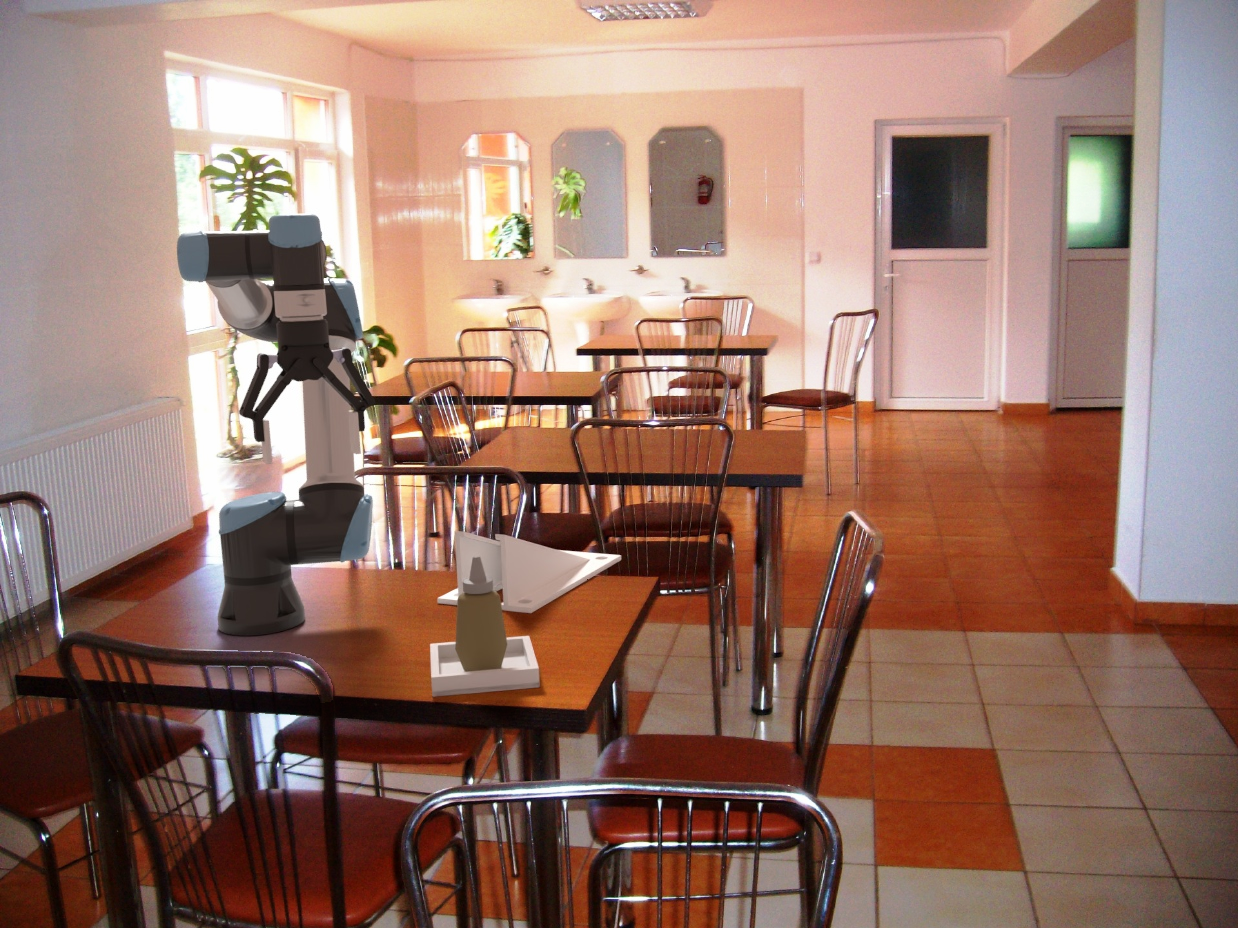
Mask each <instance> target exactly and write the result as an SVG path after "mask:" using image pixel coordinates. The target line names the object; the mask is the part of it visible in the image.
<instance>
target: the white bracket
mask: <svg viewBox="0 0 1238 928" xmlns="http://www.w3.org/2000/svg"><path fill="white" fill-rule="evenodd" d="M494 536H495V539H491V538H488V537H486V536H485V537H484V536H481V535H477V534H474V533H470V532H466V531H458V530H455V531H454V542H455V543H454V544H455V559H456V562H455V563H456V577H457V579H456V580H457V588H455V589H453V590H451V591H449V592H447V593H445V594H443V595H441V596H439V597H437V598H436V599H437V604H442V605H443V604H444V605H450V606H452V605H453V606H457V600H458V597H459V596H460V595H461V594H462V593H464V591H463V580H465V579H467V578H469V577H470V571H471V565H472V559H473V557H475V556H480V558H481V561H482V565H483V568H484V572H485V576H486V577H490V578H492V579H493V591H495V592H499V591H500V590H502V600H503V601H502V602H501V607H502V611H506V612H507V611H508V612H514V613H515V612H516V613H524V614H527V613H528V614H532V613H534V612H535V611H537V610H538V609H540V608H542V607H544V606H546V605H547V604H549V603H551V602H553V601H554V600H555V599H558V598H559V597H561V596H562V595H564V594H566V593H567V592H570V591H571V590H572V589H574V588H576V587H579V585H581V584H583V583H585V582H587V581H588V580H590V579H591V578H593V577H594V576H597V575H598V574H600V573H601V572H603V571H605V570H607V569H608V568H610V567H612V566H613V565H615V564H617V563H618V562H620V561H622V555H620V554H609V553H599V552H587V551H586V552H585V551H576V550H575V551H572V550H561V549H555V548H551V547H548V546H544V545H541V544H538V543H534V542H530V541H528V540H527V541H526V540H524V539H520V538H517V537H514V536H510V535H507V534H502V533H501V534H498V533H495V534H494ZM587 579H588V580H587Z"/></svg>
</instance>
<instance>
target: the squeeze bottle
mask: <svg viewBox="0 0 1238 928" xmlns="http://www.w3.org/2000/svg"><path fill="white" fill-rule="evenodd" d="M463 591H464V593H462V594H461V595H460V596H459V597H458V600H457V605H456V625H455V627H456V628H455V642H456V645H455V650H456V652H457V655H458V657H459V660H460V662H461V664H462V667H463V669H464V671H465V672H469V671H481V670H493V669H501V666H502V662H503V659H504V655H505V651H506V648H507V639H506V638H507V632H506V626H505V622H504V621H505V619H504V614H503V610H502V607H501V603H502V601H501V594H499V593H498V591H496V592H495V591H493V579H492V578H490V577H486V576H485V572H484V568H483V565H482V561H481V558H480V556H475V557H473V559H472V565H471V571H470V577H469V578H467V579H465V580H463Z"/></svg>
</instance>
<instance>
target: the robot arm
mask: <svg viewBox="0 0 1238 928" xmlns="http://www.w3.org/2000/svg"><path fill="white" fill-rule="evenodd" d="M327 256H328V255H327V247H326V243H325V241H324V240H323V233H322V230H321V221H320V218H319V216H317V215H316V214H312V213H311V214H310V213H293V214H291V213H289V214H288V213H287V214H286V213H284V214H275V215H271V217H270V218H269V220H268V229H265V230H263V229H262V230H226V231H223V230H222V231H221V230H220V231H215V230H214V231H213V230H212V231H204V230H200V231H192V232H184V233H182V234H180V235H179V236H178V238H177V241H176V258H177V259H176V260H177V266H178V271H179V274H180V276H181V278H182V279H183V280H184V281H186V282H197V283H204V282H205V283H206V284H207V286H208V288H209V289H210V291H211V292H212V293H213V295H214V297H215V298H216V300H217V309H218V312H219V314H220V316H221V317H222V319H223V320H224V321H225V322H226V324H227V325H228V326H229V327H231V328H232V329H234V331H237V332H239V333H241V334H243V335H245V336H248V337H250V338H253V339H255V340H260V341H264V342H269V343H277V346H278V347H277V354H266V353H262V352H260V353H258V354H257V356H256V368H255V372H254V374H253V377H252V378H251V381H250V384H249V385H248V386H249V387H248V388H247V391H246V393H245V396H244V398H243V401H242V404H241V405H240V408H239V410H238V411H239V412H238V414H239V415H240V416H241V417H243V418H245V419H250V420H252V426H253V427H252V428H253V438H254V440H255V442H257V443H261V452H262V453H261V454H262V461H263V463H265V464H266V465H272V464H273V456H272V454H273V453H272V444H271V443H272V441H271V431H270V420H268V419H266V418H265V417H266V415H267V414H268V413H269V411H270V410H271V408H272V407H273V406H274V404H275V403H276V402H277V400H278V399H279V398H280V396H281V395H282V393H283V392H284V391H285V389H286V388H287V386H289V385H290V384H291V383H292V381H296V382H302V397H303V398H302V399H303V400H302V402H303V405H302V406H303V421H304V422H303V423H304V444H305V445H304V446H305V450H304V451H305V464H306V465H305V467H306V469H305V470H306V472H305V473H306V481H305V482H304V483H303V484H302V485H301V486H300V487H299V489H298V499H294V500H290V499H289V500H287V496H286V494H285V493H284V492H280V491H268V492H262V493H256V494H252V495H247V496H244V497H240V498H237V499H234V500H232V501H230V502H228V503H226V504H224V505H223V506H222V507H221V509H220V511H219V513H218V514H219V515H218V516H219V517H218V518H219V519H218V520H219V521H218V522H219V525H218V526H219V529H218V534H219V535H220V537H219V538H220V545H221V546H220V547H221V557H222V566H223V569H222V570H223V580H224V587H223V592H222V596H221V601H220V605H219V609H218V613H217V625H218V626H217V628H218V630H219V631H220V632H222V633H223V634H227V635H232V636H259V635H261V636H262V635H268V634H273V633H279V632H282V631H283V632H284V631H286V630H290V629H292V628H295V627H297V626H300V625H301V624H302V623H304V621H305V620H306V614H305V605H304V603H303V600H302V598H301V596H300V594H299V592H298V590H297V587H296V585H295V581H294V580H293V577H292V575H293V574H292V566H295V565H296V566H297V565H310V564H322V563H336V562H340V563H345V562H347V561H349V562H350V561H354V560H355V561H356V560H362V559H364V558H365V557H366V556H367V555H368V553H369V551H370V544H371V539H372V537H371V536H372V527H373V506H374V503H373V502H374V499H373V496H372V495H370V494H368V493H367V494H365V486H364V484H362V483H361V482H360V481H359V480H357V479H356V471H355V456H354V454H355V455H360V454H362V451H361V450H362V449H361V436H360V432H365V429H366V423H365V411H366V409H367V408H370V407H373V406H375V405H376V399H375V398H374V396H373V395H372V393H371V391H370V390H369V387H368V386H367V384H366V382H365V380H364V379H363V377H362V375H361V374H360V372H359V371H358V369H357V366H356V365H355V364H354V359H353V355H352V354H353V352H355V351H356V349H357V341H359V340H362V339H363V338H364V333H363V326H362V321H361V317H360V310H359V306H358V305H359V304H358V299H357V295H356V290H355V287H354V284H353V283H352V281H351V280H349V279H347V278H335V277H334V278H333V277H328V276H327V277H326V278H325V272H324V271H325V270H324V267H325V265H326V262H327V261H328V260H327ZM275 363H276V364H278V366H279V367H280V368H281V369H282V370H281V371H280V373H279V374H278V376H277V377H276V379H275V381H274V383H273V384H272V385H271V387H270V388H269V390H267V392H266V394H265V395H264V396H263V398H262V399H261V401H260V402H259V403H258V404H257V401H258V399H259V396H260V393H261V391H262V388H263V386H264V384H265V381H266V379H267V376H268V373H269V370H270V369H272V368H273V367H274V364H275ZM350 382H351V383H350ZM350 384H352V385H353V387H354V389H355V390H356V392H357V395H359V398H360V399H361V400H360V399H359V398H357V396H356V395H355V394H353V392H352V391H351V385H350ZM256 404H257V406H256ZM255 406H256V407H255ZM352 409H353V410H352Z"/></svg>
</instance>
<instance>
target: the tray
mask: <svg viewBox="0 0 1238 928" xmlns="http://www.w3.org/2000/svg"><path fill="white" fill-rule="evenodd" d="M506 639H507V648H506V651H505V655H504V659H503V662H502V666H501V669H493V670H481V671H469V672H465V671H464V669H463V667H462V664H461V662H460V660H459V657H458V655H457V652H456V650H455V645H456V641H449V642H448V641H447V642H436V643H429V647H430V648H429V650H430V651H429V652H430V654H429V655H430V674H431V675H430V677H431V678H430V679H431V695H432V697H433V698H434V697H435V698H436V697H444V696H456V695H467V694H478V693H489V692H500V691H511V690H521V689H522V690H525V689H534V688H535V689H536V688H540V686H541V685H540V684H541V683H540V668H539V663H538V660H537V658H536V655H535V651H534V648H533V644H532V641H531V638H530V635H522V636H509V637H507V636H506Z"/></svg>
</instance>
